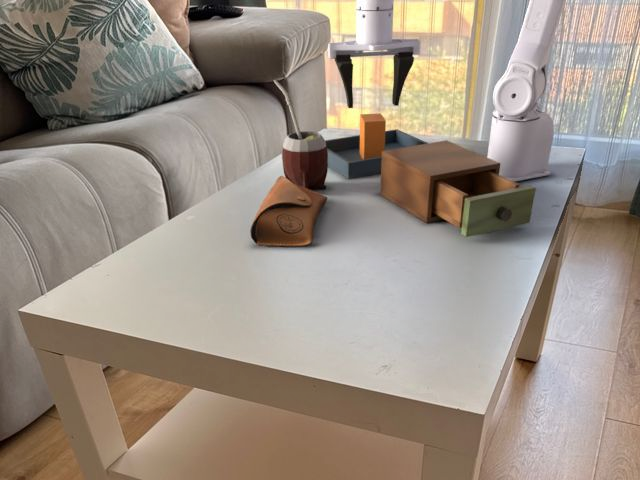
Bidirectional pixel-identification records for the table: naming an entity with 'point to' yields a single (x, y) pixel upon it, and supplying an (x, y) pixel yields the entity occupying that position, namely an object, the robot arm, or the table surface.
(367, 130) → the orange wooden block
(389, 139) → the tray
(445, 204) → the drawer
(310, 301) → the table surface
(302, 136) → the mate gourd
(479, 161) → the cabinet
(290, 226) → the sunglasses case
